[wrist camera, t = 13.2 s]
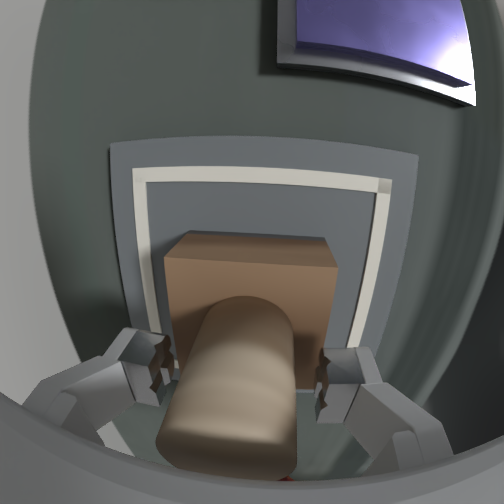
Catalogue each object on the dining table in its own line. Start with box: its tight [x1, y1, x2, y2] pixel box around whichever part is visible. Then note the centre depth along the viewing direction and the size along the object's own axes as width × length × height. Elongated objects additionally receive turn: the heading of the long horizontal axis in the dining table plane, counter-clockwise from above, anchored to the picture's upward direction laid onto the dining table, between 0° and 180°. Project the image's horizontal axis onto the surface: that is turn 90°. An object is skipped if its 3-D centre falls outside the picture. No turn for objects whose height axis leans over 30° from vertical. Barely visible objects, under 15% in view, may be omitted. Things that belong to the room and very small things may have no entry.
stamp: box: [156, 230, 338, 481], centre depth 9 cm, size 6×6×8 cm
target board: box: [110, 136, 419, 393], centre depth 13 cm, size 13×13×1 cm
